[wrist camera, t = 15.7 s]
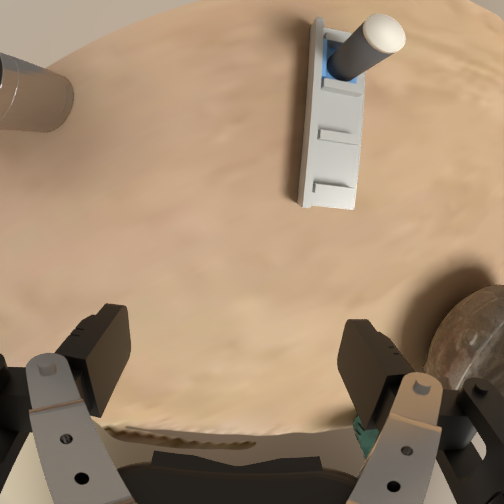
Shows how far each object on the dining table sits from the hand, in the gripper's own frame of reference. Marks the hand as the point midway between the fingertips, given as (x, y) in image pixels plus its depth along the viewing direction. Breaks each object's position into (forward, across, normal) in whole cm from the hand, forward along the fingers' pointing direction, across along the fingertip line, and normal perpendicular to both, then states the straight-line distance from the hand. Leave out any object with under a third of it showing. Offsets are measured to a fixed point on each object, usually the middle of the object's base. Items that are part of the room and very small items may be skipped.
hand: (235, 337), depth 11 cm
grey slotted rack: (+33, -12, -14) cm, 38 cm away
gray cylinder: (+32, -12, -21) cm, 40 cm away
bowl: (+33, -44, +19) cm, 58 cm away
